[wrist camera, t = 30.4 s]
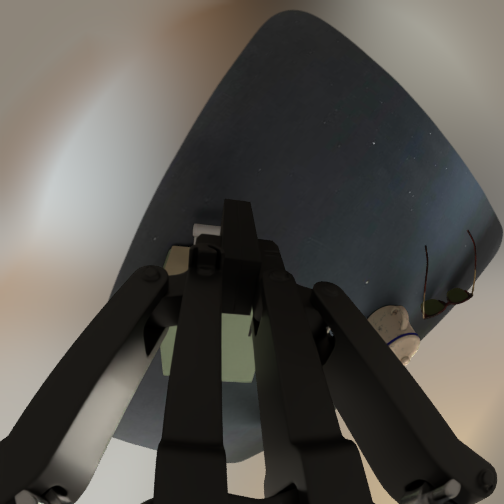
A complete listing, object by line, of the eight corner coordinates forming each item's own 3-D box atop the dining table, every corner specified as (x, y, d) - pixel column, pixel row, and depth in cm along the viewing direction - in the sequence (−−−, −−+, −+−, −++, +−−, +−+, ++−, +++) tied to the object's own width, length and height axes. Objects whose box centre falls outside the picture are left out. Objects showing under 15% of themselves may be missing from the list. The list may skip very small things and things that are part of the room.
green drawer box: (169, 249, 40) (156, 286, 32) (267, 259, 42) (276, 298, 34) (170, 336, 49) (163, 375, 41) (247, 343, 51) (251, 382, 43)
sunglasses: (413, 306, 51) (424, 321, 46) (415, 244, 44) (430, 256, 40) (462, 285, 50) (474, 296, 45) (468, 225, 43) (483, 234, 39)
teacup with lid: (394, 332, 54) (416, 371, 44) (358, 339, 54) (377, 383, 44) (410, 288, 48) (440, 329, 38) (371, 294, 48) (398, 340, 38)
